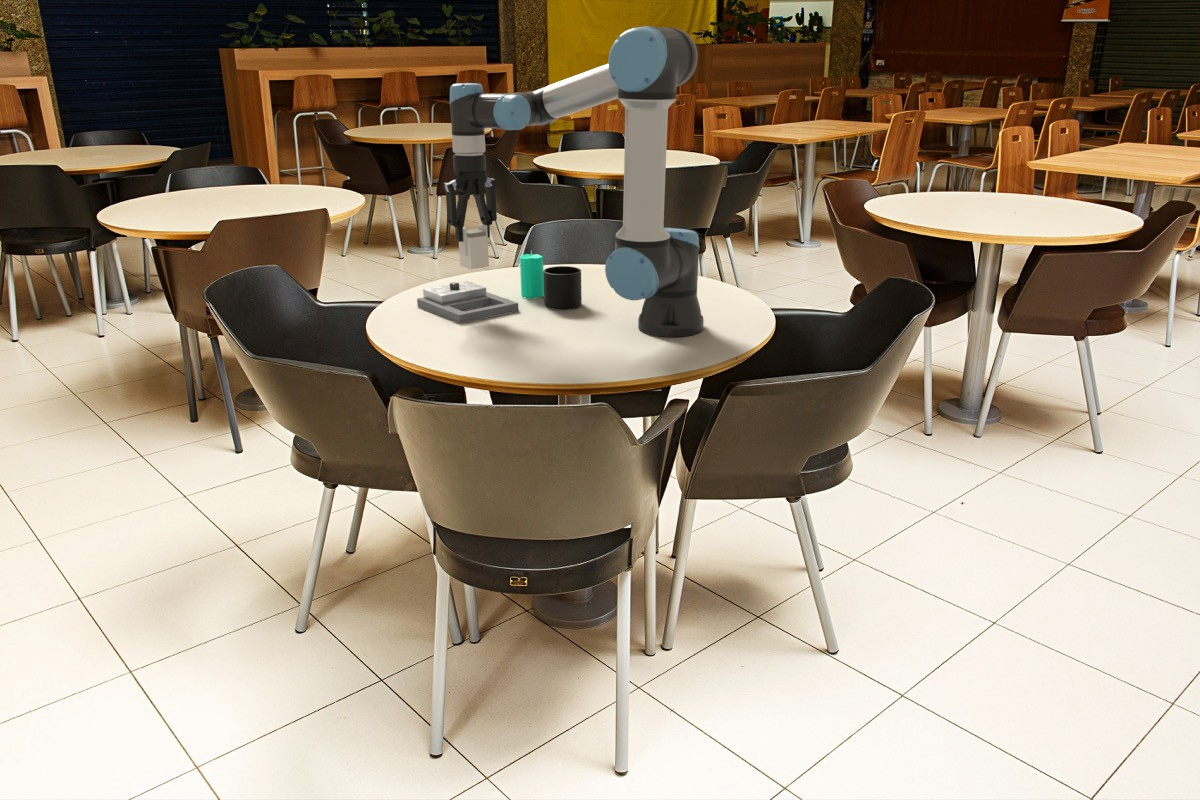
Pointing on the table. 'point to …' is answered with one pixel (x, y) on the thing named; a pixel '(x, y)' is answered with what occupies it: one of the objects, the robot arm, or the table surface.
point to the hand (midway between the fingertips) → (473, 252)
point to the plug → (476, 250)
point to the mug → (562, 287)
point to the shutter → (454, 292)
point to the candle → (532, 276)
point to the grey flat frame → (470, 307)
